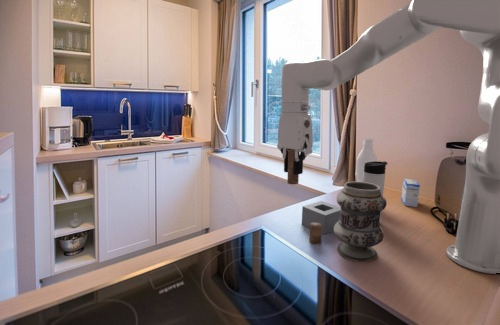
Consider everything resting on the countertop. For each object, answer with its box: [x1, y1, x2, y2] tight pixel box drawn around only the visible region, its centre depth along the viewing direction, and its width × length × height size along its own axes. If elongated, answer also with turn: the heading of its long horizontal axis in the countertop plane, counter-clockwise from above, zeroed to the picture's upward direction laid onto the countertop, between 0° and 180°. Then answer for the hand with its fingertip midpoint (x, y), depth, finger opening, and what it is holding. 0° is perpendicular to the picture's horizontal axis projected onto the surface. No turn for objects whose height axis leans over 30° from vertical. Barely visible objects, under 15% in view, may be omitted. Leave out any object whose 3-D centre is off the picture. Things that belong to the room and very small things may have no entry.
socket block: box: [301, 200, 341, 235], centre depth 93 cm, size 9×9×6 cm
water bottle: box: [354, 137, 378, 182], centre depth 112 cm, size 7×7×25 cm
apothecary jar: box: [333, 181, 387, 263], centre depth 76 cm, size 12×12×18 cm
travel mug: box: [363, 160, 388, 221], centre depth 95 cm, size 6×7×20 cm
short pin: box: [308, 223, 323, 245], centre depth 83 cm, size 3×3×5 cm
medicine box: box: [400, 178, 421, 208], centre depth 114 cm, size 8×4×9 cm, turn 162°
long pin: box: [286, 149, 300, 185], centre depth 87 cm, size 3×3×10 cm
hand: (293, 172), depth 87 cm, fingers closed on long pin, 3 cm apart
